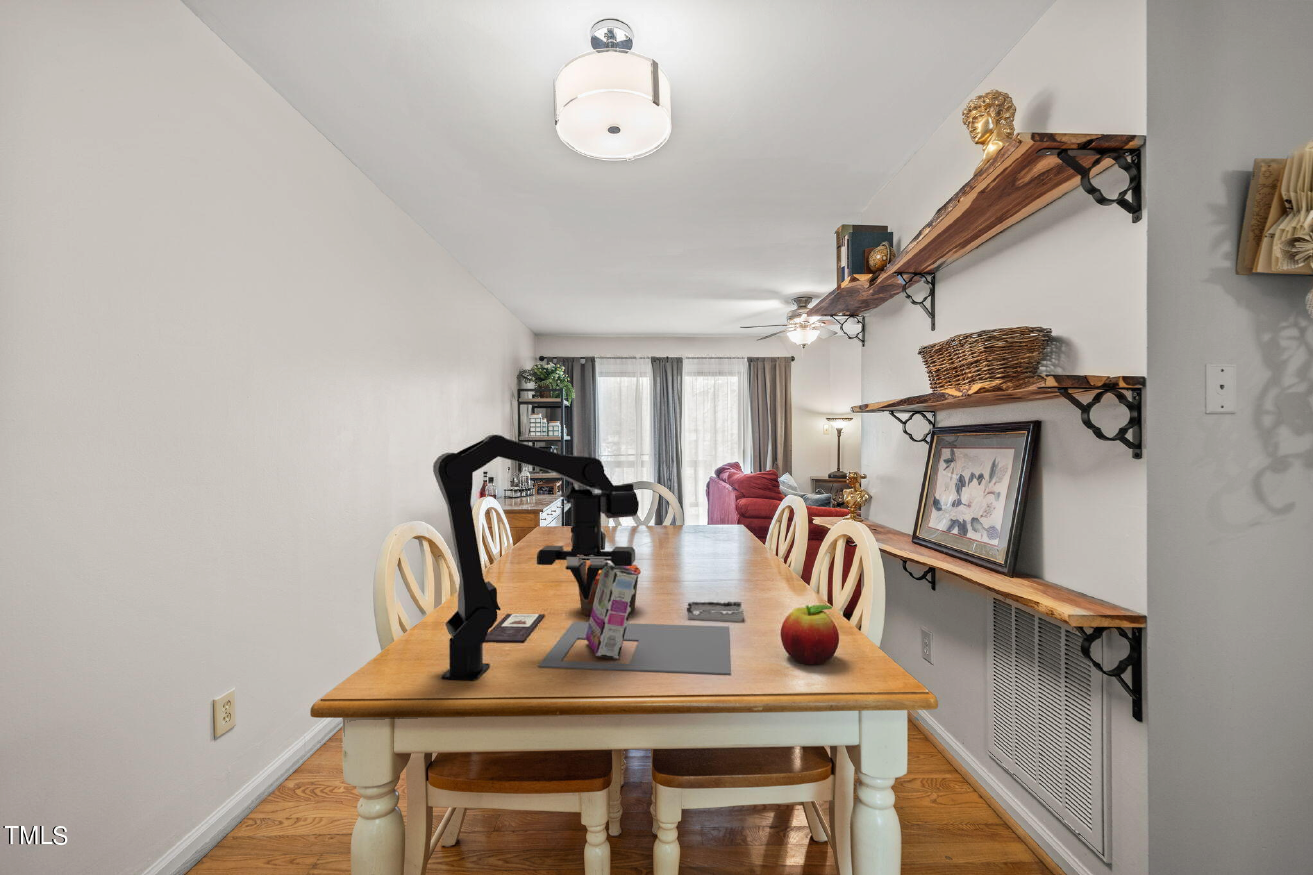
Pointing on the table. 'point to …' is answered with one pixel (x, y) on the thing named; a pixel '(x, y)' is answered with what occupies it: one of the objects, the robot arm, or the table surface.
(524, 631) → the chocolate bar
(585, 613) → the food container
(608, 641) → the candy bar box
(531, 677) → the table surface
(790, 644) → the fruit
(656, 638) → the rubber mat
